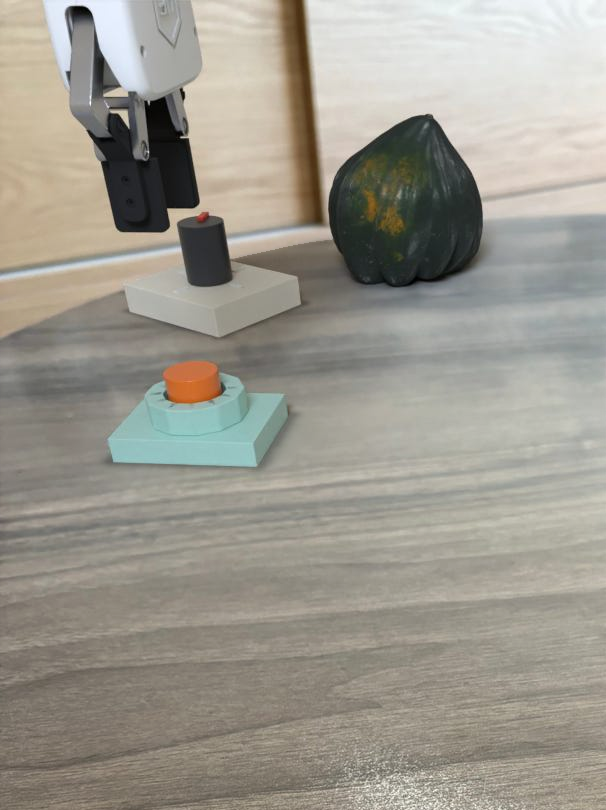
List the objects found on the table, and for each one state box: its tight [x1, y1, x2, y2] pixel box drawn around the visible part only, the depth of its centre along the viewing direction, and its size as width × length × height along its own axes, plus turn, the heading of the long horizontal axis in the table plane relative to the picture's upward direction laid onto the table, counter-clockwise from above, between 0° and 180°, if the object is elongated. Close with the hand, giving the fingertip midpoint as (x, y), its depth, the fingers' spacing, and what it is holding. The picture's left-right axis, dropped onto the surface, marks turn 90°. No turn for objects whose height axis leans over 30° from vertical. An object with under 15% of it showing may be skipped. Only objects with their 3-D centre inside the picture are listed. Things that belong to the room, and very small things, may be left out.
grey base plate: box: [123, 260, 302, 338], centre depth 93 cm, size 12×10×3 cm
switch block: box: [107, 372, 289, 468], centre depth 71 cm, size 10×8×4 cm
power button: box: [162, 360, 222, 404], centre depth 70 cm, size 4×4×2 cm
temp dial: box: [176, 211, 233, 286], centre depth 91 cm, size 4×4×5 cm
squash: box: [327, 113, 484, 287], centre depth 98 cm, size 14×15×15 cm
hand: (159, 215), depth 63 cm, fingers open, 4 cm apart
